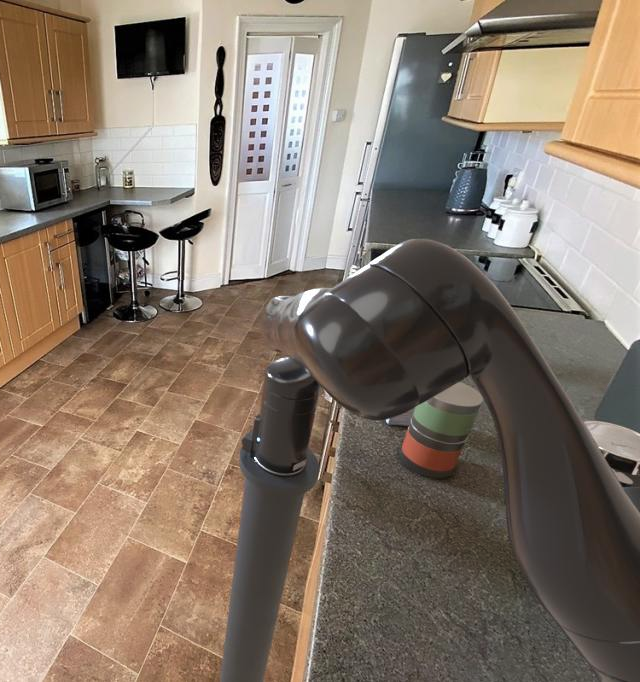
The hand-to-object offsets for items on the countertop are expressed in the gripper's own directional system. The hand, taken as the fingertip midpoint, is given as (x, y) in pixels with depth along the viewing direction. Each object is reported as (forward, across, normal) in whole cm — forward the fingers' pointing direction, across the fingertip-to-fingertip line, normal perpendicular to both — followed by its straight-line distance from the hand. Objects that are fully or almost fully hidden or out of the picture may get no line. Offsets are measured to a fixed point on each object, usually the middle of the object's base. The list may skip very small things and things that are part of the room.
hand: (604, 442), depth 48 cm
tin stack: (+21, +11, +26) cm, 35 cm away
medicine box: (+33, +15, +26) cm, 44 cm away
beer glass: (-2, 0, +13) cm, 13 cm away
